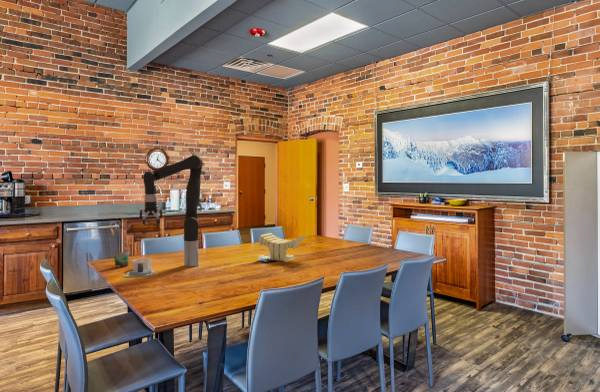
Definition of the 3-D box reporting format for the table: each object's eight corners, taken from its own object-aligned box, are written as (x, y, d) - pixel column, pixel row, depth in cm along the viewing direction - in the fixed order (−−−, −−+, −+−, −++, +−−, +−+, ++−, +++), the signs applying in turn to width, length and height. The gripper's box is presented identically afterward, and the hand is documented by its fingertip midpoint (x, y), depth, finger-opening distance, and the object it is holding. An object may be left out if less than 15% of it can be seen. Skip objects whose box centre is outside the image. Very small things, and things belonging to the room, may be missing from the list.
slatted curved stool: (259, 259, 270) (259, 235, 269) (271, 255, 284) (271, 232, 283) (294, 264, 255) (294, 238, 254) (305, 259, 269) (305, 235, 268)
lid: (152, 270, 236) (152, 260, 236) (149, 275, 224) (149, 265, 224) (131, 271, 233) (131, 262, 232) (127, 276, 221) (127, 266, 220)
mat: (155, 270, 236) (155, 269, 236) (152, 275, 225) (152, 274, 225) (128, 272, 232) (128, 271, 232) (124, 277, 221) (124, 276, 220)
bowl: (152, 266, 247) (152, 257, 247) (149, 270, 237) (149, 261, 236) (134, 267, 245) (134, 258, 244) (131, 271, 234) (131, 262, 234)
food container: (122, 268, 241) (121, 253, 241) (113, 268, 243) (113, 253, 242) (134, 264, 253) (133, 250, 253) (126, 264, 255) (125, 249, 254)
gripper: (162, 200, 254) (163, 223, 255) (140, 200, 250) (140, 224, 251) (161, 201, 246) (161, 225, 247) (138, 201, 243) (139, 225, 244)
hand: (151, 224), depth 249 cm, fingers open, 8 cm apart
